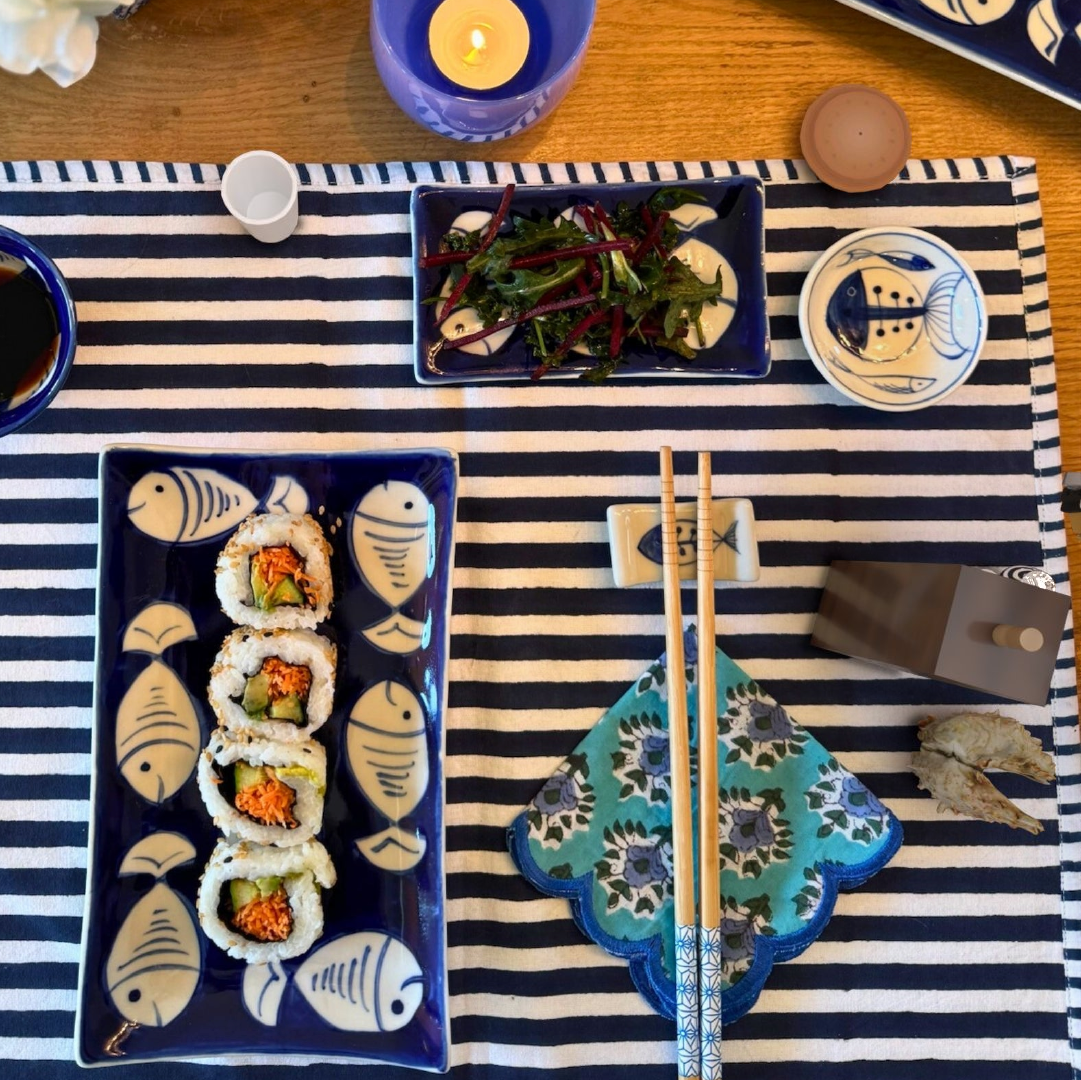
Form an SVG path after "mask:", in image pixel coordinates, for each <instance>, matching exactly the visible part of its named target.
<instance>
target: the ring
mask: <svg viewBox="0 0 1081 1080" xmlns="http://www.w3.org/2000/svg"><path fill="white" fill-rule="evenodd" d="M1067 515H1068V519H1069V522H1070V526H1071V530H1072V533H1073V534H1074V535H1075V534H1077V535H1076V536H1075V538H1076V540H1078V542H1079V543H1081V512H1079V513H1067Z"/></svg>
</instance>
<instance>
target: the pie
mask: <svg viewBox="0 0 1081 1080" xmlns="http://www.w3.org/2000/svg"><path fill="white" fill-rule="evenodd" d="M910 125H911V124H910V121H909V119H908V117H907V115H906V113H905V110H904V108H903V107H902V106H901V105H900V104H899V103H898V102H896V101H895V99H893V98H892V97H890V96H889V95H888V94H886V93H885V92H883V91H881V90H880V89H878V88H875V87H872V86H868V85H865V84H860V83H858V84H857V83H842V84H840V85H836V86H833V87H830V88H828V89H827V90H825V91H824V92H823V93H821V94H820V95H818V96H817V97H816V98H815V99H814V101H813V102H811V104H810V105H809V106H808V108H807V109H806V112H805V114H804V117H803V119H802V122H801V127H800V133H799V137H798V138H799V142H800V149H801V154H802V156H803V158H804V159H805V161H806V163H807V164H808V167H809V168H810V169H811V170H812V172H813V173H814V174H815V176H816V177H817V178H818V179H819V180H820V181H822V182H823V183H825V184H826V185H828V186H830V187H832V188H833V189H836V190H840V191H843V192H846V193H849V194H850V193H865V192H871V191H874V190H880V189H882V188H883V187H885V186H886V185H889V183H891V182H892V181H894V180H895V179H896V178H897V176H898V175H899V174H900V173H901V172H902V171H903V169H904V168H905V166H906V164H907V162H908V159H909V157H910V155H911V151H912V141H913V138H912V130H911V126H910Z"/></svg>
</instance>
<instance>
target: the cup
mask: <svg viewBox="0 0 1081 1080" xmlns="http://www.w3.org/2000/svg"><path fill="white" fill-rule="evenodd" d="M220 192H221V193H220V195H221V198H222V200H223V201H222V202H223V203H224V205H225V207H226V208H227V210H228V211H229V212H230V214H231V215H232V216H233V217H234V218H235V219H236V220H237V221H238V223H239V224H241V225H242V227H243V228H244V229H245V230H246V231H247V232H248V233H249V234H250V235H251V236H252V237H253V238H254V239H256V240H257V241H260V242H261V243H268V244H269V243H270V244H271V243H272V244H277V243H280V242H282V241H284V240H286V239H287V238H289V237H290V236H291V235H292V234H293V232H294V231H295V230H296V227H297V225H298V221H299V198H298V195H299V194H298V178H297V176H296V174H295V171H294V169H293V168H292V166H291V165H290V163H289V162H288V161H287V160H285V159H284V157H282V156H280V155H279V154H276V153H275V152H273V151H271V150H270V151H268V150H263V149H261V150H260V149H259V150H250V151H248V152H245V153H242V154H240V155H238V156H236V157H235V158H234V159H233V160H232V161H231V162H230V163H229V165H227V167H226V169H225V171H224V173H223V175H222V179H221V183H220Z"/></svg>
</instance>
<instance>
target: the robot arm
mask: <svg viewBox="0 0 1081 1080" xmlns="http://www.w3.org/2000/svg"><path fill="white" fill-rule="evenodd" d="M1061 486H1063V487H1064V488H1063V489H1062V491H1061V495H1060V500H1061V501H1062V502H1061V503H1060V508H1059V510H1060V512H1062V513H1064V514H1068V513H1079V512H1081V472H1077V471H1076V472H1075V471H1064V474H1063V478H1062V482H1061Z"/></svg>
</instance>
